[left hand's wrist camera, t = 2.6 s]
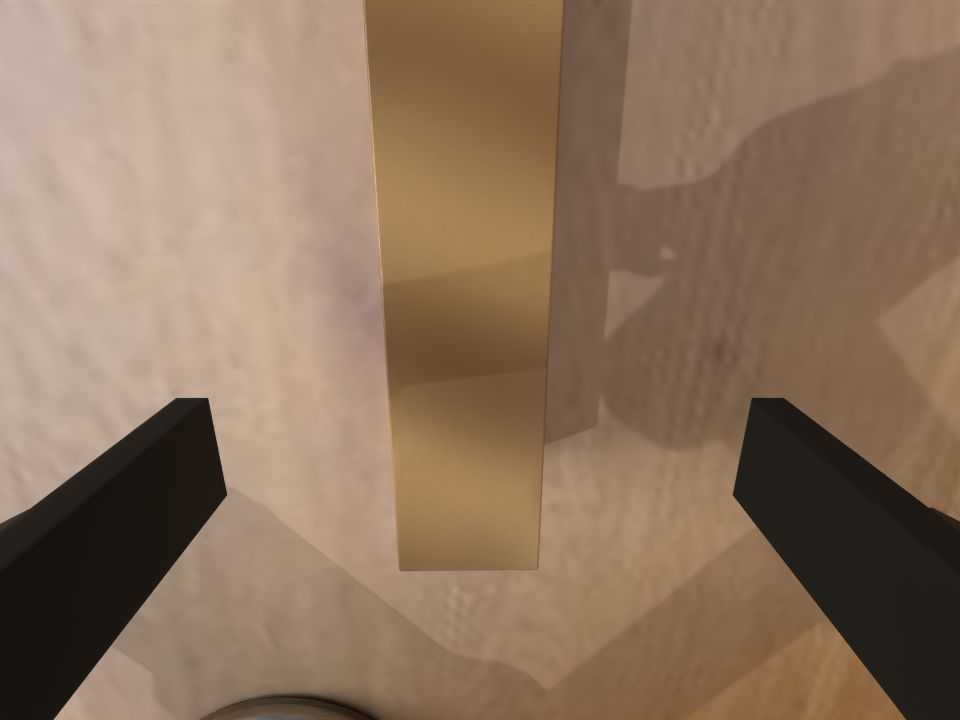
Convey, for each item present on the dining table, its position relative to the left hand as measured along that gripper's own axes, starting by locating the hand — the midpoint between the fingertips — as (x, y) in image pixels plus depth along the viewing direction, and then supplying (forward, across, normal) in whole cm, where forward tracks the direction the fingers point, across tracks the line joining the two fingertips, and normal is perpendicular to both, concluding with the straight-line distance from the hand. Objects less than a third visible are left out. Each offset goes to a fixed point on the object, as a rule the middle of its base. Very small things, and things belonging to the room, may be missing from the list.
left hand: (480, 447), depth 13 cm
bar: (+11, 0, -32) cm, 34 cm away
